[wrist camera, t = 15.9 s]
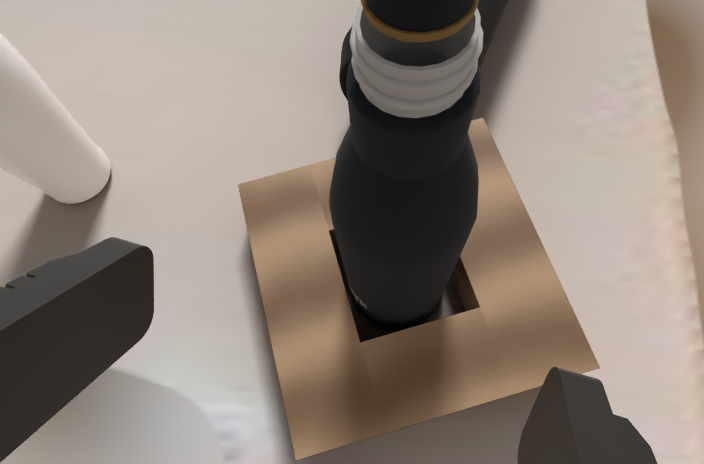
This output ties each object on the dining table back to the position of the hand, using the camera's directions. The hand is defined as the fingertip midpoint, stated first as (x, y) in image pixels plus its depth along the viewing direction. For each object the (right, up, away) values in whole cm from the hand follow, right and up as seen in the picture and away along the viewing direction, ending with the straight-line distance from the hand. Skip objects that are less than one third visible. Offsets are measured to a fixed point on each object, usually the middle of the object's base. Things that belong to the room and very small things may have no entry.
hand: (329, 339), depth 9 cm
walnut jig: (+4, -2, +24) cm, 25 cm away
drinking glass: (-22, +7, +30) cm, 37 cm away
